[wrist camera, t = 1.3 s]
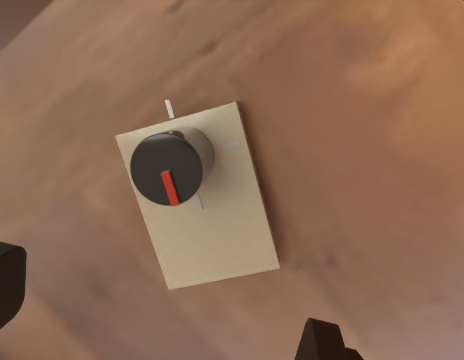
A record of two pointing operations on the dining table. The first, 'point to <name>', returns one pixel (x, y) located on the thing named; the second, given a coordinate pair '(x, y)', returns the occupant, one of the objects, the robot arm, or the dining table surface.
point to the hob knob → (172, 165)
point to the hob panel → (210, 207)
